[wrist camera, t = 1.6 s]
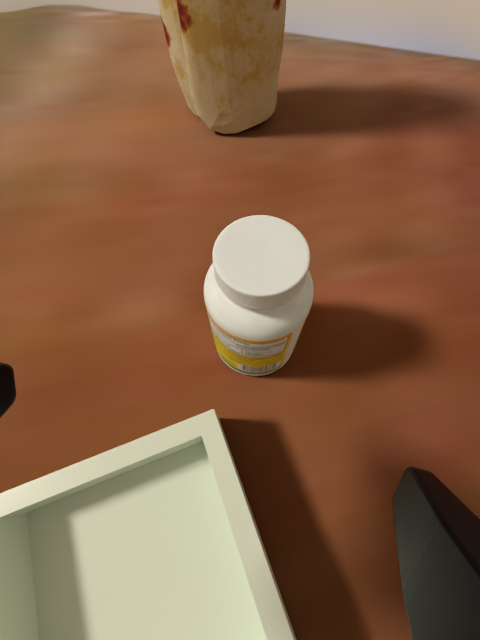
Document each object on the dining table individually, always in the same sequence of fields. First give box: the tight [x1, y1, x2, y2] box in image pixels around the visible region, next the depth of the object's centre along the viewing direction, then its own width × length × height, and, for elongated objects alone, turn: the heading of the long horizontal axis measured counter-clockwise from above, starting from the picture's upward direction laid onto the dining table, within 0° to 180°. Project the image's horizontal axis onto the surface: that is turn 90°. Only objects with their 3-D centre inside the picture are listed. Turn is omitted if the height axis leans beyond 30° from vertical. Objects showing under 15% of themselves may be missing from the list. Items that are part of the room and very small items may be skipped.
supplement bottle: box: [204, 215, 314, 376], centre depth 18 cm, size 5×5×10 cm
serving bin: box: [0, 409, 297, 640], centre depth 15 cm, size 12×12×4 cm
